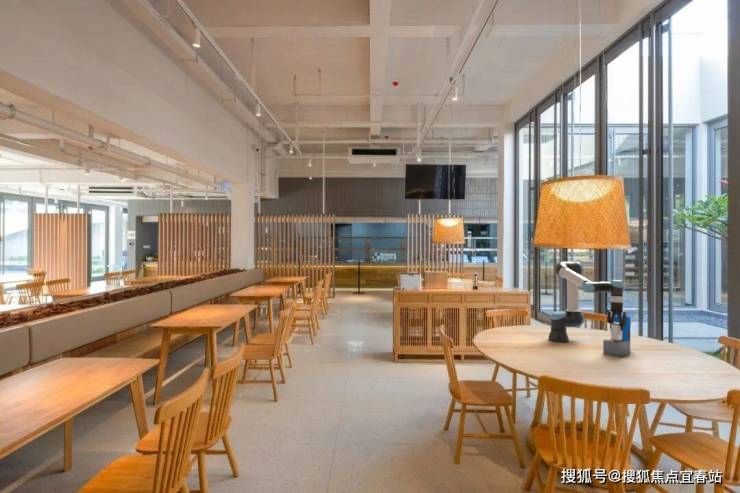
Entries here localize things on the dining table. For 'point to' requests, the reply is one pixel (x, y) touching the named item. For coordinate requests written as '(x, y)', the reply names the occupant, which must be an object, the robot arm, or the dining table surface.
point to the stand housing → (616, 348)
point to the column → (615, 332)
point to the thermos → (624, 328)
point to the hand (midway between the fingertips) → (616, 333)
